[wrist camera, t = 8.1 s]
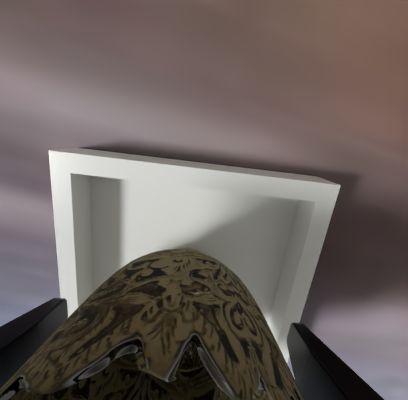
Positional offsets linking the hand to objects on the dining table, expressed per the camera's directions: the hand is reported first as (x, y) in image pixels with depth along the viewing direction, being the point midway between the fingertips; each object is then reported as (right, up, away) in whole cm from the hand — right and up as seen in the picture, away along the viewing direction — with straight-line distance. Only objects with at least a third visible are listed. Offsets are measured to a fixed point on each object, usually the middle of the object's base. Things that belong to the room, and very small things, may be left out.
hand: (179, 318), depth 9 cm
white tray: (0, +1, +3) cm, 4 cm away
